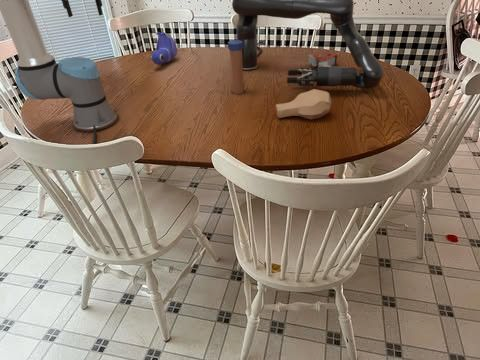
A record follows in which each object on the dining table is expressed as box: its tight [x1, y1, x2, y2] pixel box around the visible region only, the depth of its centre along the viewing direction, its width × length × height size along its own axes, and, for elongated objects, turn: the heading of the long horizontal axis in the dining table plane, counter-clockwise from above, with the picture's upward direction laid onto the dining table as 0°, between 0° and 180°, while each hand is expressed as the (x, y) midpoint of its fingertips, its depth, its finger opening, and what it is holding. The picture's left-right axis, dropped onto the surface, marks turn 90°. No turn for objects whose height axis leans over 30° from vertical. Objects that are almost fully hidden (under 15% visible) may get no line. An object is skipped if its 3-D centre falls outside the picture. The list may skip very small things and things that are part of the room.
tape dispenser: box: [308, 51, 338, 68], centre depth 165 cm, size 18×5×20 cm
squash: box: [274, 88, 332, 120], centre depth 126 cm, size 11×20×9 cm, turn 92°
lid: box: [227, 39, 243, 51], centre depth 139 cm, size 6×6×2 cm
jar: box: [229, 49, 245, 95], centre depth 144 cm, size 5×5×20 cm
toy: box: [150, 31, 178, 69], centre depth 181 cm, size 10×17×25 cm
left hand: (86, 15), depth 157 cm, fingers open, 13 cm apart
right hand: (287, 76), depth 143 cm, fingers open, 8 cm apart
